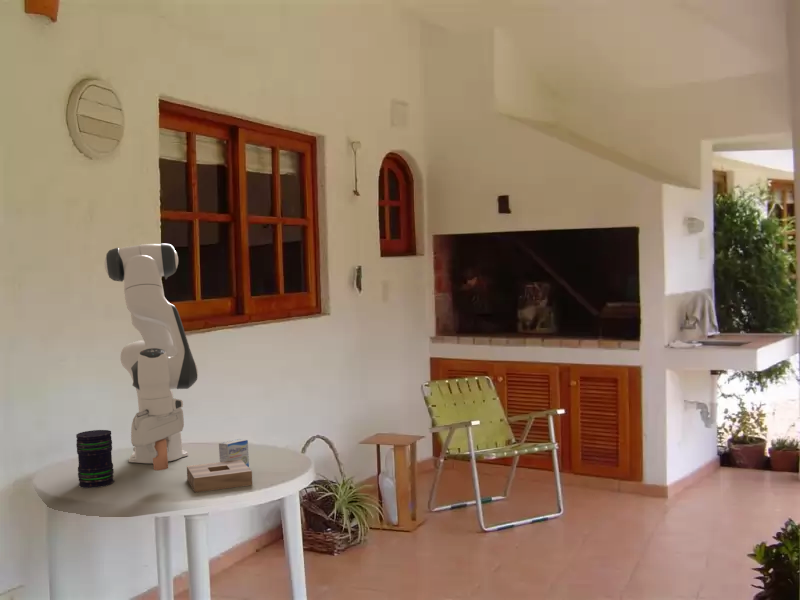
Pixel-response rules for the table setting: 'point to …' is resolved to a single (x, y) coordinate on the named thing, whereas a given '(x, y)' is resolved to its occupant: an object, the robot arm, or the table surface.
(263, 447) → the table surface
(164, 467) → the peg
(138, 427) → the robot arm
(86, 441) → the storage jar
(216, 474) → the socket block
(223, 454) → the medicine box
